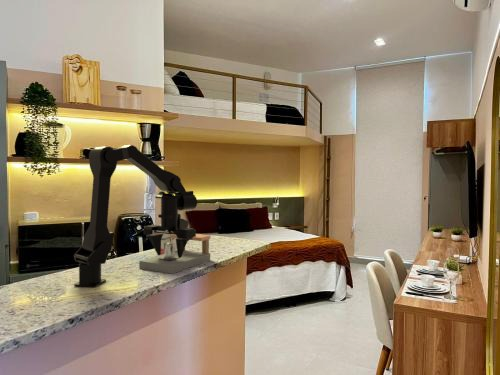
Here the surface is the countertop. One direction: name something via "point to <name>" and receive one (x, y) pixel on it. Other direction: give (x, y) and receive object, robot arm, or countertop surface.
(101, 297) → the countertop surface
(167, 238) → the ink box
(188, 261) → the socket board
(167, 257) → the peg
